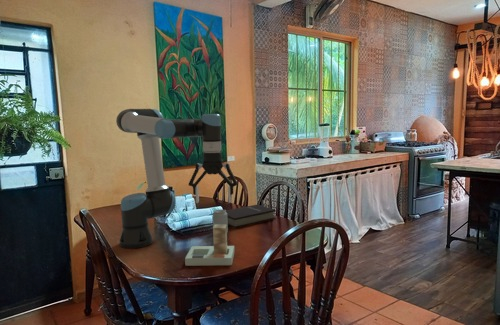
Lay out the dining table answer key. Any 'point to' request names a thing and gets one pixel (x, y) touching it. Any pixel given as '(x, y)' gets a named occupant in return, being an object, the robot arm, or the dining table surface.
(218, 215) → the can
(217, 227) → the maple peg
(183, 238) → the dining table surface
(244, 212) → the book
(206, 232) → the dining table surface
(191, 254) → the socket board
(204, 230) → the dining table surface
